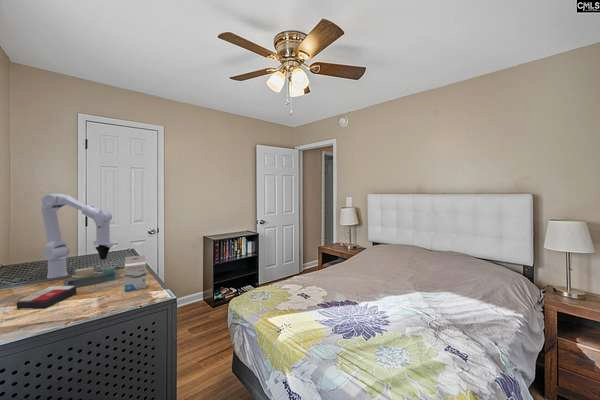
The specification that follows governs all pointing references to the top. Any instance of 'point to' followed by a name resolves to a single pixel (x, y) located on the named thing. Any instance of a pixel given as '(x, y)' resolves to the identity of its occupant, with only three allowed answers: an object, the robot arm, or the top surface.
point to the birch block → (84, 272)
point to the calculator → (47, 297)
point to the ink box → (135, 273)
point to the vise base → (91, 280)
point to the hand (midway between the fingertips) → (103, 259)
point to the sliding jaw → (104, 272)
